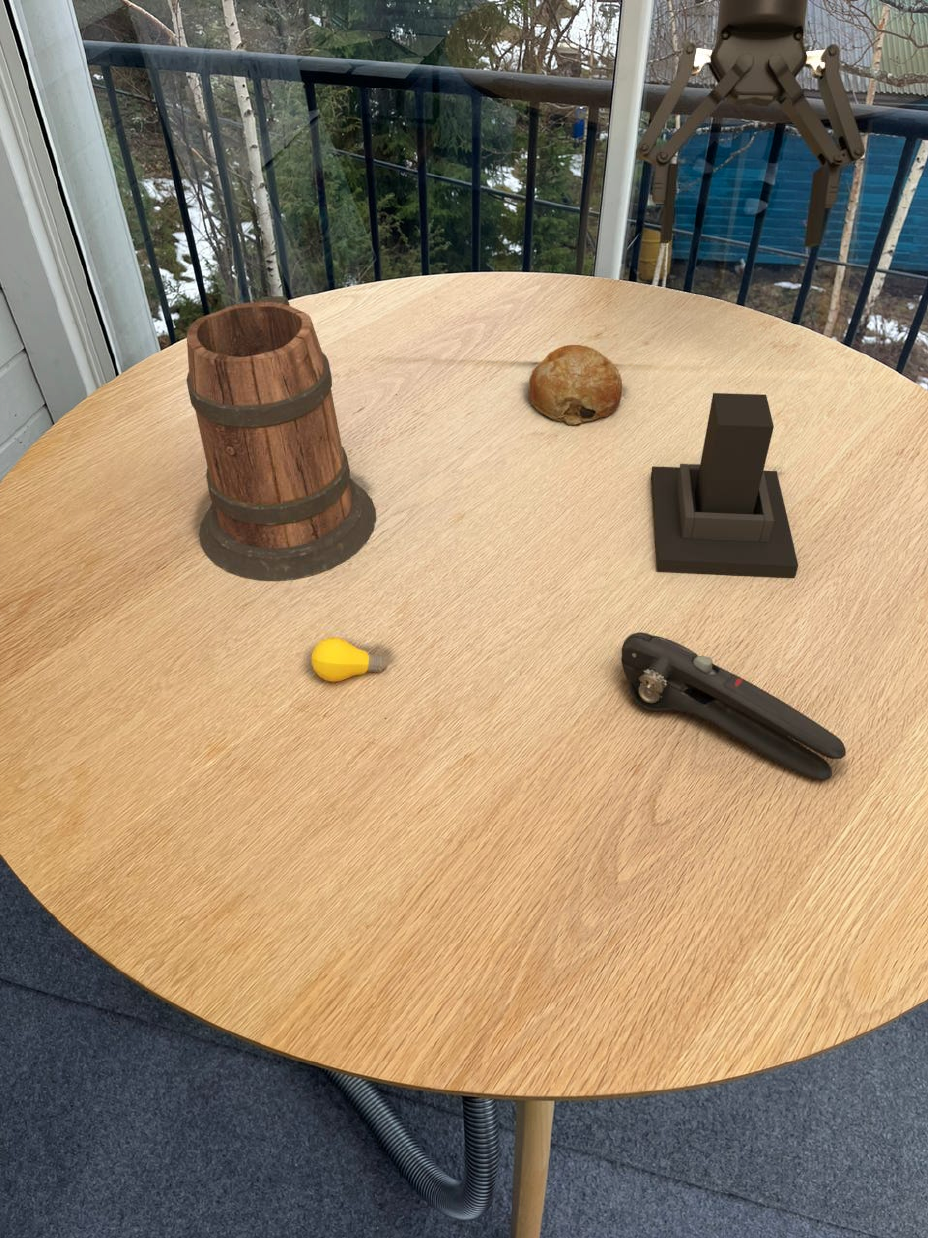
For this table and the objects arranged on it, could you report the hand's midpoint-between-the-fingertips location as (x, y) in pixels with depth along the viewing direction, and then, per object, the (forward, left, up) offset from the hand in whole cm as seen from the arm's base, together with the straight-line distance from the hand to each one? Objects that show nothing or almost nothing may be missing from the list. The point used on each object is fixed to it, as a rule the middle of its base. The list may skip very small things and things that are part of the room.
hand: (738, 243), depth 88 cm
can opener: (+2, +43, -19) cm, 47 cm away
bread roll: (+15, -2, -19) cm, 24 cm away
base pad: (+1, +19, -19) cm, 27 cm away
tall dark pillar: (+1, +19, -17) cm, 26 cm away
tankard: (+42, +18, -19) cm, 49 cm away
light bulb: (+32, +40, -19) cm, 54 cm away
